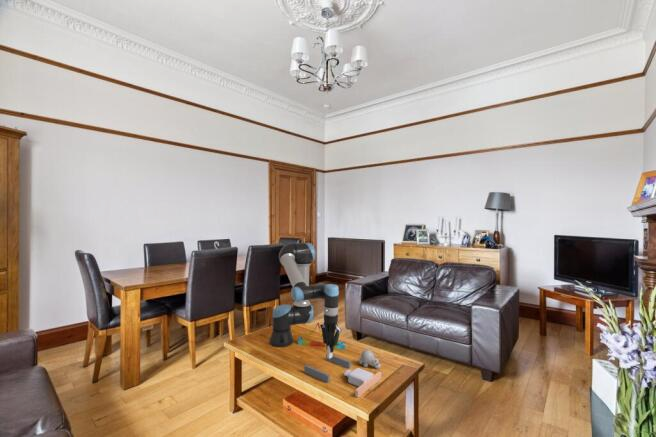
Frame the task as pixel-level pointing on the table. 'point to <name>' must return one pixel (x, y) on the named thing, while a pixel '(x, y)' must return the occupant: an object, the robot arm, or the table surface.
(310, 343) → the chart
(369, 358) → the chubby cartoon animal
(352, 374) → the charger
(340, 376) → the table surface
